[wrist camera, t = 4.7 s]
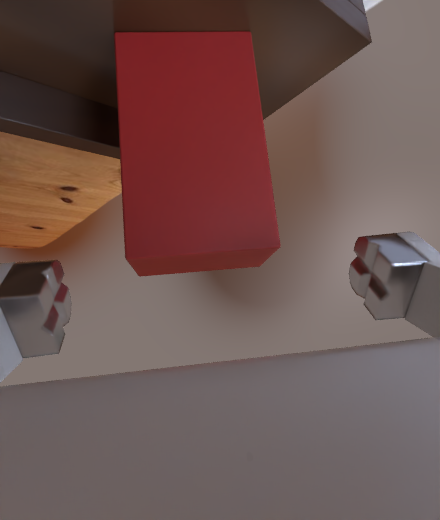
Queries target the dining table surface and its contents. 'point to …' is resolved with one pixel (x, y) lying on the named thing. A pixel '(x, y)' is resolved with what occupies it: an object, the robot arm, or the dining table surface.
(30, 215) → the dining table surface
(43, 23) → the shelf
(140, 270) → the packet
